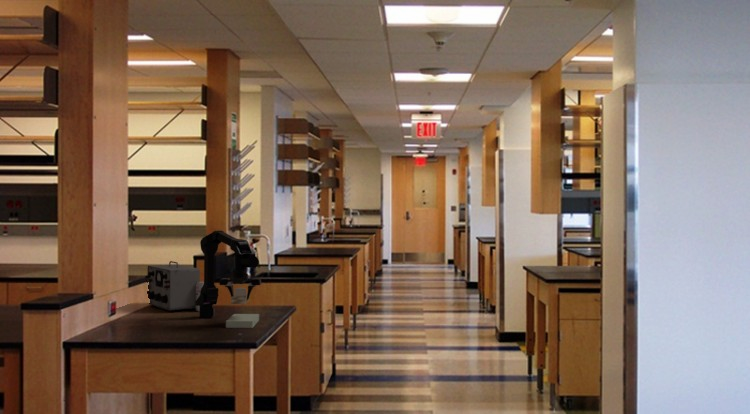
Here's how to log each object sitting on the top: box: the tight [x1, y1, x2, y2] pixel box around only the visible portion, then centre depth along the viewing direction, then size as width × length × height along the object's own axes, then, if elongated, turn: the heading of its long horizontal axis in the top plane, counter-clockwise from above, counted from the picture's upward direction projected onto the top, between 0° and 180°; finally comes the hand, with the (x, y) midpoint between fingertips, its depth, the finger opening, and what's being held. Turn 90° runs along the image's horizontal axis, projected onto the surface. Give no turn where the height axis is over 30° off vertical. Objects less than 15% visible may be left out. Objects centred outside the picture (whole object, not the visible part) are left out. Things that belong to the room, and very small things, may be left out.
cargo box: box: [234, 287, 247, 297], centre depth 350 cm, size 4×4×4 cm
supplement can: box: [195, 280, 208, 313], centre depth 391 cm, size 8×8×15 cm
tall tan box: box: [230, 294, 250, 305], centre depth 350 cm, size 6×11×3 cm, turn 1°
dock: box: [225, 313, 260, 329], centre depth 350 cm, size 12×22×3 cm, turn 1°
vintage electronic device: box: [144, 260, 201, 313], centre depth 399 cm, size 32×18×25 cm, turn 37°
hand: (240, 300), depth 350 cm, fingers closed on tall tan box, 6 cm apart
